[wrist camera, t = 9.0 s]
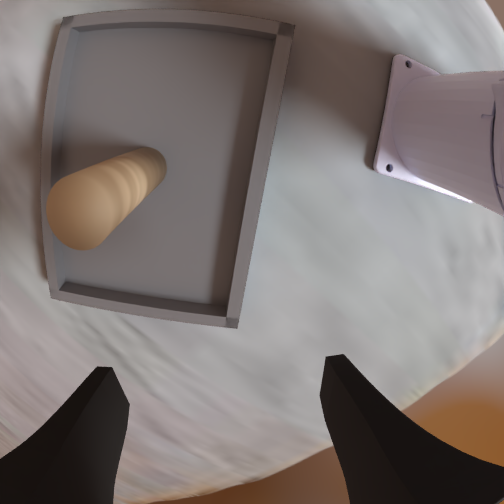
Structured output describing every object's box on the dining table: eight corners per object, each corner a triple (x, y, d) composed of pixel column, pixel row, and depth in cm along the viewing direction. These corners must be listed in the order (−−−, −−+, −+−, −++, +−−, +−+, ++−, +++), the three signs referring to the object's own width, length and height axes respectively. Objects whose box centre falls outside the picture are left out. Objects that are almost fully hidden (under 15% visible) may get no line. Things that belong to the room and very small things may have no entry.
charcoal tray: (288, 34, 14) (295, 25, 12) (236, 312, 21) (237, 328, 19) (76, 24, 12) (63, 17, 10) (61, 285, 19) (51, 298, 17)
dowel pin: (169, 149, 15) (112, 177, 8) (164, 191, 16) (111, 255, 9) (128, 145, 15) (45, 173, 7) (124, 186, 16) (48, 245, 8)
